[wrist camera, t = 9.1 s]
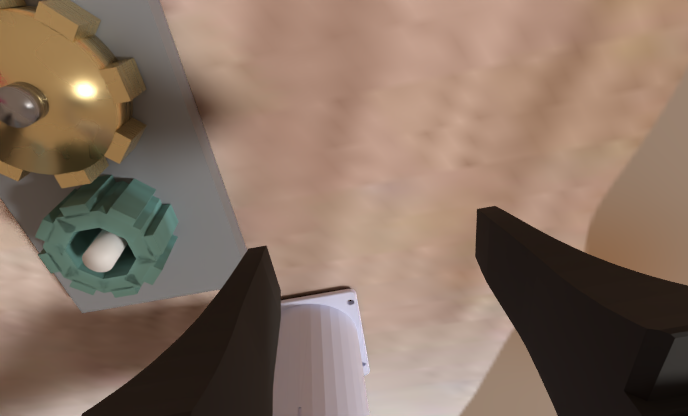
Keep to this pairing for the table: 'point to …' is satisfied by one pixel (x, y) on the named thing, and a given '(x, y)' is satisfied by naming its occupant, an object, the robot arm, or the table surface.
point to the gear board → (149, 168)
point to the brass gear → (62, 94)
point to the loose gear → (117, 218)
